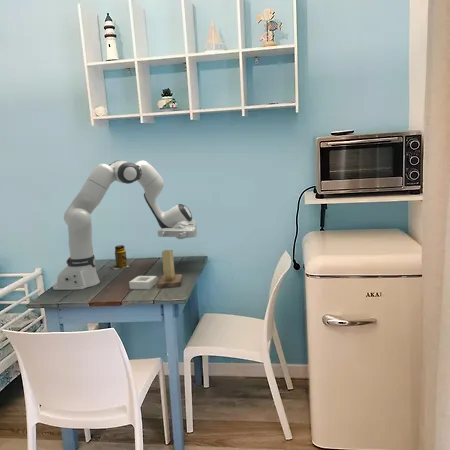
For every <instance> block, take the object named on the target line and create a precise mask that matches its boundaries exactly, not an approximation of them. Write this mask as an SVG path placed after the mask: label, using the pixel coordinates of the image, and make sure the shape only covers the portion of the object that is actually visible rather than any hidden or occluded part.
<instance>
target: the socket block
mask: <svg viewBox="0 0 450 450" xmlns="http://www.w3.org/2000/svg"><path fill="white" fill-rule="evenodd" d="M157 283H158V276H157V275H137V276H135V277H134V278H133V279H131V280H130V281H129V282H128V284H129V289H130V290H151V289H153V287H155V286H157Z"/></svg>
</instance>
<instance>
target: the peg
mask: <svg viewBox="0 0 450 450" xmlns="http://www.w3.org/2000/svg"><path fill="white" fill-rule="evenodd" d="M161 257H162V258H161V259H162V269H163V271H162V272H163V275H164V280H173V279H174V278H175V275H176V273H175V261H174V251H173V249H164V250H163V251H161Z"/></svg>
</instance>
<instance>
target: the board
mask: <svg viewBox="0 0 450 450" xmlns="http://www.w3.org/2000/svg"><path fill="white" fill-rule="evenodd" d="M157 281H158V283H157V284H156V288H157V289H163V288H174V287H175V288H177V287H181V286H182V282H183V274H182V273H180V274H179V273H178V274H177V273H176V274H175V278H174V279H173V280H164V274H163V275H159V277H158V279H157Z"/></svg>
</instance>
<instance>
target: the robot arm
mask: <svg viewBox="0 0 450 450" xmlns="http://www.w3.org/2000/svg"><path fill="white" fill-rule="evenodd" d="M115 181H116V182H118V183H122V184H128V185H129V184H132V183H135V182H136V181H137V182H138V183H139V184H140V186H141V187H142V188H143V190H144V193H143V198H144V200H145V202H146V204H147V205H148V207H149V209H150V211H151V212H152V214H153V216H154V217H155V219H156V222H157V223H158V225H159V227H160V229H158V230H157V236H158V237H159V238H175V239H177V240H183V239H188V238H189V239H190V238H196V237H197V235H198V234H197V233H198V232H197V222H196V220H195V219H193V214H192V212H191V210H190V209H189V207H188V206H186V205H185V204H181V203H178V204H177V205H175V206H173V207H171V208H170V209H168V210H166V211H163V210H162V209H161V207H160V205H159V204H158V202H157V198H158V197H159V195H160V194H161V193H162V191H163V188H164V184H165V181H164V179H163V177H162V176H161V174H160V173H159V172H158V171H157V170H156V168H155V167H153V165H151V164H150V163H149V162H148V161H146V160H138V161H137V162H135V163H134V162H129V161H126V160H114V161H113V162H112V163H109V164H108V163H99V164H98V165H96V167H95V168H94V169H93V170H92V171H91V172H90V174H89V175H88V177H87V179H86V180H85V182H84V183H83V186H82V187H81V189H80V190H79V192H78V193H77V195H76V196H75V197H74V199H73V200H72V201H71V203H70V205H69V206H68V207H67V209H66V210H65V212H64V215H63V220H64V223H65V224H66V225H67V228H68V229H67V232H68V250H69V257H68V258H67V260H66V264H67V265H66V267H64V268H63V270H61V271H60V272H59V273H58V275H57V278H56V283H54V284H53V286H52V289H53V291H55V290H56V291H58V290H59V291H62V290H65V291H66V290H68V291H69V290H75V291H76V290H84V289H86V288H89V287H94V286H96V285H98V284H99V283H101V281H100V278H99V275H98V272H97V269H96V263H97V262H96V258H95V255H94V248H93V238H92V234H93V233H92V231H93V229H92V228H93V227H92V226H93V225H92V216H91V214H92V213H93V212H94V210H96V208H97V207H98V206H99V205H100V204H101V202H102V200H103V198H104V197H105V195H106V194H107V191H108V190H109V188H110V186H111V184H112V183H114V182H115Z"/></svg>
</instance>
